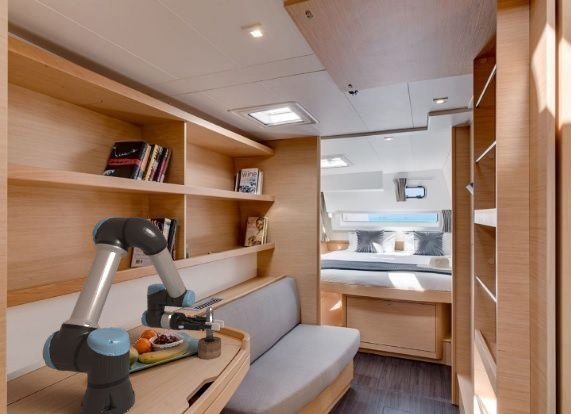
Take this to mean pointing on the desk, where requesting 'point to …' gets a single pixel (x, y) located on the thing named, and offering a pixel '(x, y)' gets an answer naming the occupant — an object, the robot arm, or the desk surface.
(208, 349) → the bead
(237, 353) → the desk surface
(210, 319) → the round-tipped metal rod
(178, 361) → the desk surface
